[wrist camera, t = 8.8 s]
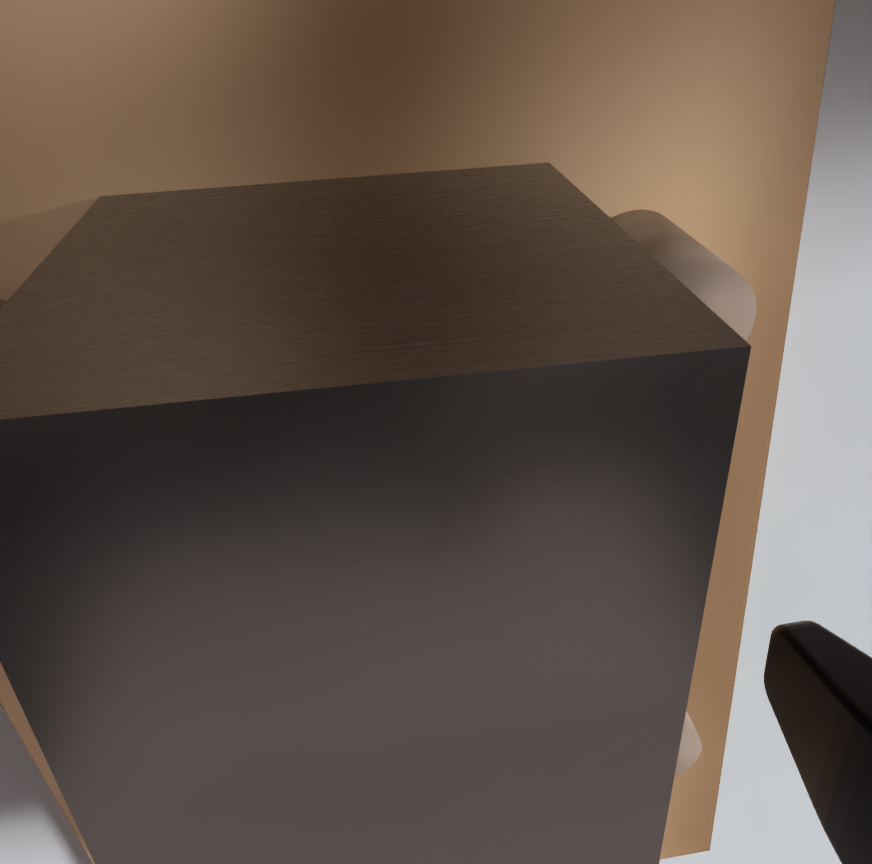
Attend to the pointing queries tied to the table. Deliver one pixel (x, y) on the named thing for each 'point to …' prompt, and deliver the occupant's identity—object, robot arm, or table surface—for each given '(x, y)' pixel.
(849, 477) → the table surface
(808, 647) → the robot arm
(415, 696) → the dark grey rectangular block
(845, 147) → the table surface
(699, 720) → the pin tray
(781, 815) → the table surface
